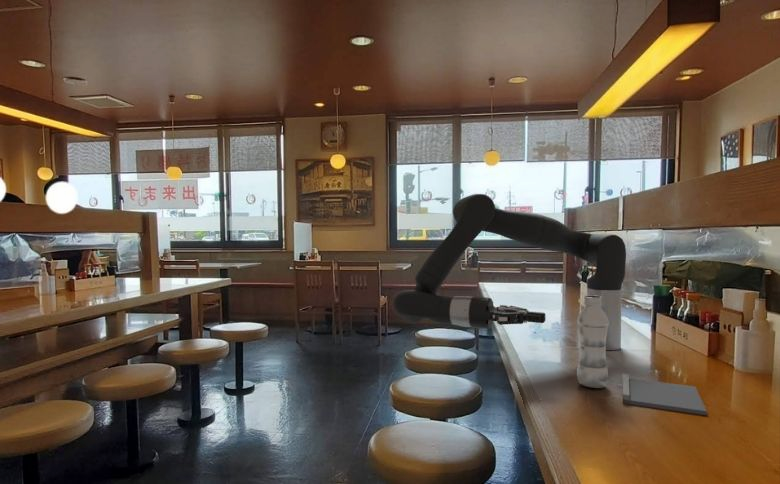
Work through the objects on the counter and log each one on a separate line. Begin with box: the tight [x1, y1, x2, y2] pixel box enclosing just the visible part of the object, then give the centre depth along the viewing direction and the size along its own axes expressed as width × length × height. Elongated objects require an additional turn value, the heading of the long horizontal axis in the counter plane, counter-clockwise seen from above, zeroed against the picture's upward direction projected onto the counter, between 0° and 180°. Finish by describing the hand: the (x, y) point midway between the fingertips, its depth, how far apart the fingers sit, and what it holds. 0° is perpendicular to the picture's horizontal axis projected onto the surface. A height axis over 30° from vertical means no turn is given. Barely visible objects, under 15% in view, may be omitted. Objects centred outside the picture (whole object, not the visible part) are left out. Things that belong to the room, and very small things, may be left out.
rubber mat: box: [622, 372, 708, 416], centre depth 96 cm, size 15×14×2 cm
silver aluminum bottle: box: [576, 294, 609, 389], centre depth 102 cm, size 6×7×20 cm
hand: (544, 317), depth 107 cm, fingers closed
